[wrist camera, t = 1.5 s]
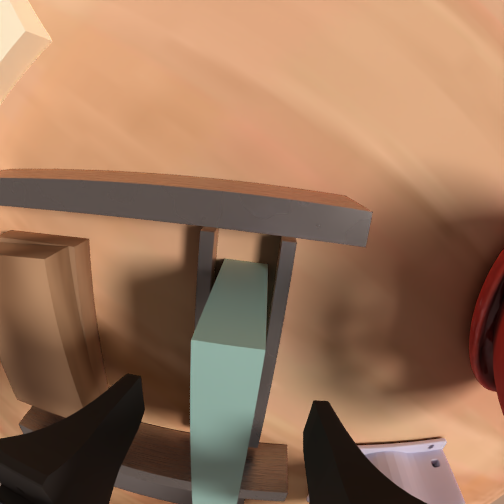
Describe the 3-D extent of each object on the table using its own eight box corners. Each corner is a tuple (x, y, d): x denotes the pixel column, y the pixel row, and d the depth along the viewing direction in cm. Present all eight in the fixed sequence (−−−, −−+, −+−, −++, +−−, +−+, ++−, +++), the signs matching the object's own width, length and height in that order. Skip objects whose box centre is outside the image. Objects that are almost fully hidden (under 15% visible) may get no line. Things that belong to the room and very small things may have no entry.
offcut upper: (68, 246, 14) (44, 259, 12) (102, 403, 17) (89, 425, 15) (-7, 241, 14) (-30, 251, 12) (31, 382, 17) (17, 399, 15)
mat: (252, 463, 19) (251, 469, 19) (241, 508, 22) (241, 513, 21) (72, 422, 20) (69, 426, 19) (93, 474, 22) (91, 478, 21)
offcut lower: (94, 236, 16) (74, 246, 14) (111, 384, 19) (100, 403, 17) (17, 228, 16) (-4, 236, 14) (42, 363, 19) (28, 378, 17)
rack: (345, 196, 14) (372, 211, 10) (283, 455, 19) (284, 501, 15) (10, 168, 14) (-39, 178, 10) (48, 402, 19) (24, 434, 15)
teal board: (268, 263, 15) (265, 350, 8) (245, 416, 18) (235, 512, 11) (224, 258, 15) (191, 339, 8) (212, 412, 18) (192, 505, 11)
